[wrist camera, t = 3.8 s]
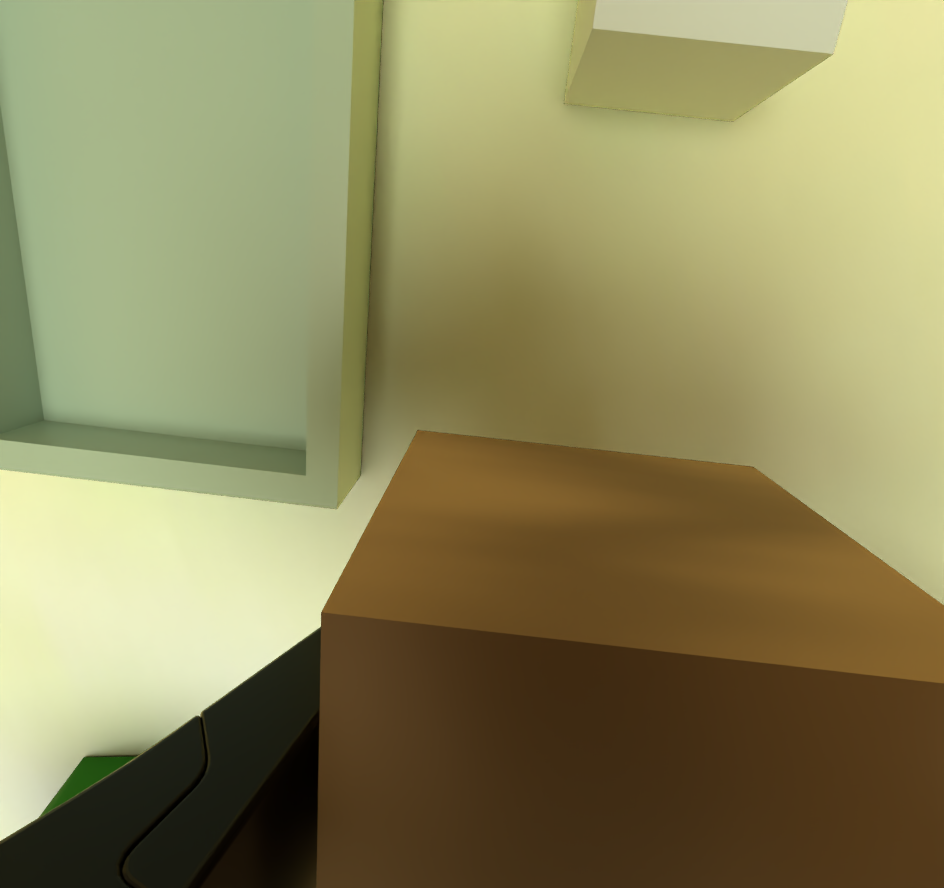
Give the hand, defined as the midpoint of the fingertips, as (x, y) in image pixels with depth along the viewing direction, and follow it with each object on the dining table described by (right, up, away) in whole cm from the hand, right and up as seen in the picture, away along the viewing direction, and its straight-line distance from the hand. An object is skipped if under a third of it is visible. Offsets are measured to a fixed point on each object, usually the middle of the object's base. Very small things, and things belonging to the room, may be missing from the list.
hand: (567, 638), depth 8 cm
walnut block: (0, 0, +1) cm, 1 cm away
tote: (-11, +11, +8) cm, 18 cm away
